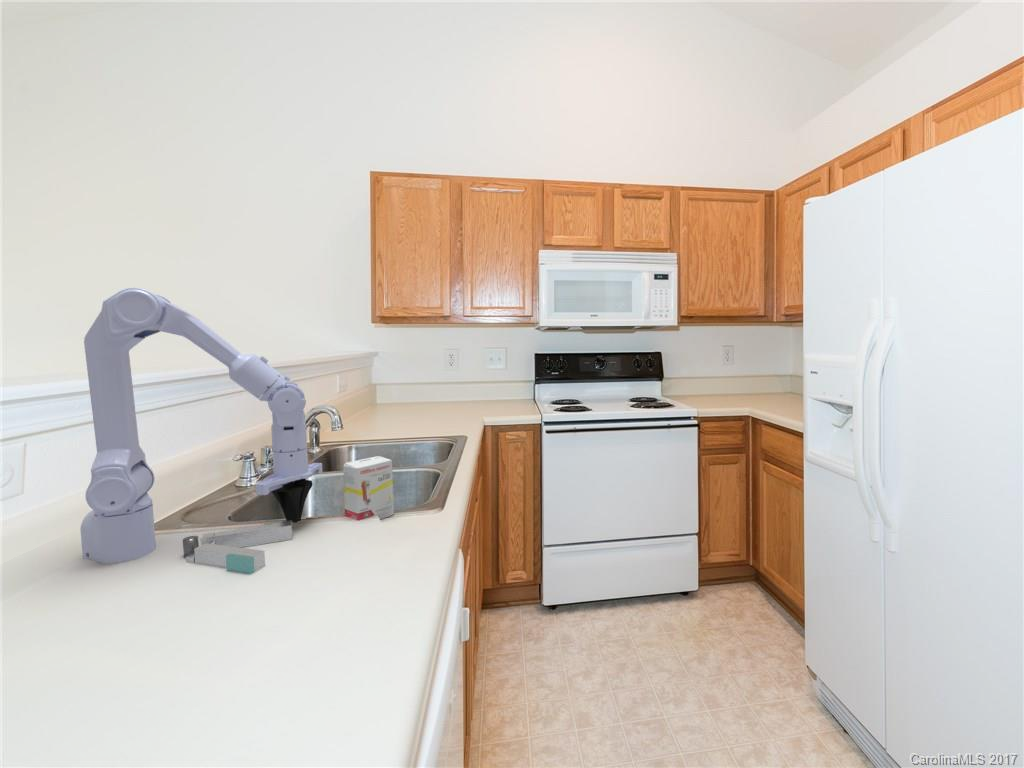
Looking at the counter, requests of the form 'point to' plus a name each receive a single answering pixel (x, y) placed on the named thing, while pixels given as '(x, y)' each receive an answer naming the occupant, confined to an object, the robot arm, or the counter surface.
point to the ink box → (368, 488)
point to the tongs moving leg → (251, 535)
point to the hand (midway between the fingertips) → (293, 521)
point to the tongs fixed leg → (223, 556)
